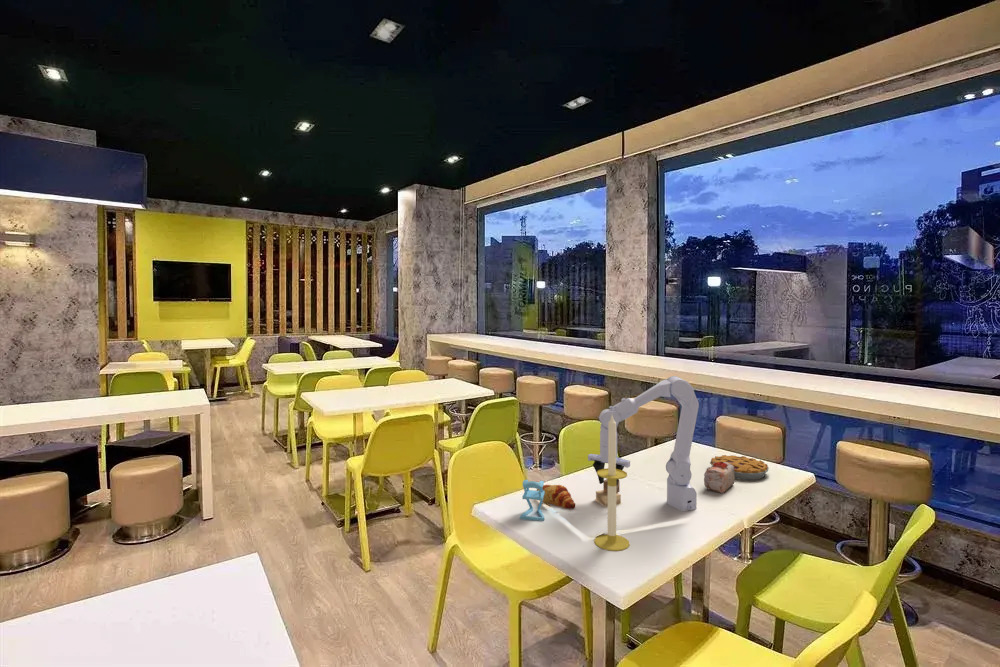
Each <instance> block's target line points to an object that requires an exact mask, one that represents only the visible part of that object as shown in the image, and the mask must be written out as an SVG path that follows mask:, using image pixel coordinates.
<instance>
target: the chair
mask: <svg viewBox="0 0 1000 667" xmlns="http://www.w3.org/2000/svg"><path fill="white" fill-rule="evenodd" d="M544 484H545V481H544V480H540V481H539V482H538V481H529V480H528V479H524V480H523V481H522V488H523V490H524V491H523V492H524V493H523V495H522V500H526V502H527V505H528V507H529V508H528V509H527V510H526V511H524V512H523V513H521V515H519V516H520V517H519V519H520V520H525V521H527V520H529V521H539V522H544V521H545V516H544V514H543V512H542V510H541V508H542V504H543V503H542V502H543V498H544V494H545V491H543V485H544ZM533 489H536V490H533ZM537 489H539V491H537ZM531 500H534V501H539V503H538V506H537V508H536V509H537V513H538V515H539V516H532V515H531V516H530V515H529V514H531V513H532V512H533V511H534V507H533V505H532V503H531ZM528 515H529V516H528Z"/></svg>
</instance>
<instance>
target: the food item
mask: <svg viewBox="0 0 1000 667" xmlns="http://www.w3.org/2000/svg"><path fill="white" fill-rule="evenodd" d="M703 476H704V478H703V482H704V483H703V484H704V487H705V488H706V489H707V490H710V491H712V492H716V493H719V494H724V493H725V492H726V491H727V490H728V489H729V488H730V487H732V485H734V484H735V481H736V480H735V479H736V478H735V477H734V466H733V465H732V464H730V463H727V462H717V463H716V462H715V461H713V467H712V466H711V467H707V468H706V470H705V472H704V474H703Z"/></svg>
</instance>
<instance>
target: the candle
mask: <svg viewBox="0 0 1000 667" xmlns="http://www.w3.org/2000/svg"><path fill="white" fill-rule="evenodd" d="M607 464H608V465H607V466H608V468H604V469H601V470H598V471H597V473H596V475H597V476H598V475H599V476H600V477H603V478H604V479H605V480H606V479H608V507H607V533H604V534H599V535H597V536H596V537H595V538H594V540H593V541H594V544H595V546H597V547H598V548H600V549H602V550H606V551H610V552H611V551H612V552H618V551H620V552H621V551H625V550H627V549H628V548H629V547H630V541H629V540H628V539H627V538H626V537H623V536H622V535H618V534H617V505H616V479H619V480H623V479H626V478H627V477H628V472H627V471H625V470H624V469H623V470H619V469H616V422H615V421H614V418H613V416H611V419H610V421H609V422H608V463H607Z"/></svg>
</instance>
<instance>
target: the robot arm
mask: <svg viewBox="0 0 1000 667" xmlns="http://www.w3.org/2000/svg"><path fill="white" fill-rule="evenodd" d="M694 389H695V388H694V387H693V386H692V385H691V384H690V383H689V382H688V381H687V380H685V379H683V378H681V377H679V376H677V375H673V376H669V377H668V378H667V379H663V380H661V381H659V382H658V383H657V384H655V385H653V386H651V387H650V388H648V389H647V390H645V391H643V392H642V393H641V394H639V395H637V396H636V397H634V398H631V397H626V398H625V397H622V398H621V401H619V402H618V403H616V404H614V405H613V406H612V405H609V406H608V408H606V409H603V410H601V412H600V414H599V416H598V421H599V422H600V429H599V430H600V432H599V454H597V453H596V454H595V453H590V454H587V461H589V462H591V461H592V462H593V463H592V466H593V469H594V470H595V472H596V474H597V471H598V470H601V469H605V465H606V464H608V422H609V421H610V419H611V416H613V418H614V421H615V422H616V469H619V470H623V471H624V469H625V468H626V469H628V468H630V467H631V460H628V459H626V458H625V459H624V458H621V457H618V431H617V430H618V429H617V428H618V426H619V422H620V423H622V422H623V421H624V420H627V419H628V418H630V417H632V416H633V415H635V414H638V412H639V408H640V407H642V406H644V405H647V404H648V403H650V402H652V401H654V400H657V399H658V398H660V397H663V398H672V396H673V397H674V398H676V399H675V400H676V401H677V402H678V403H679V404H680V405H681V408H680V414H679V415H680V416H679V421H678V425H677V426H678V427H677V431H676V438H675V440H674V441H675V442H674V445H673V446H674V447H673V451H672V452H671V454H670V457H669V460H668V461H667V462H666V464H665V471H666V472H667V474H668V477H667V478H666V504H667V506H670V507H672V508H675V509H678V510H679V511H681V512H684V511H685V512H686V511H687V512H688V511H692V510H697V501H698V500H697V497H698V496H697V490H696V489H695V488H694V487H693V486H692V485H691V483H690V482H691V480H692V476H693V475H692V472H691V465H692V464H691V458H690V455H691V449H692V444H693V439H694V433H695V427H696V424H697V417H698V412H699V407H700V403H699V401H698V397H697V396H696V393H695V390H694ZM597 479H598V482H599V484H600V485H601V484H602V485H603V481H604V480H605V478H603V477H600V476H599V475H597ZM618 481H619V482H620V479H616V486H617V485H618Z"/></svg>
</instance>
